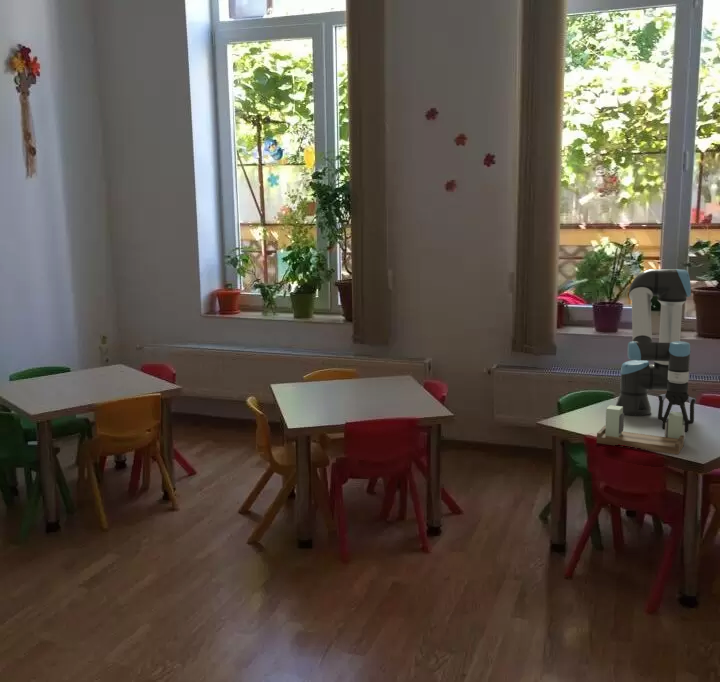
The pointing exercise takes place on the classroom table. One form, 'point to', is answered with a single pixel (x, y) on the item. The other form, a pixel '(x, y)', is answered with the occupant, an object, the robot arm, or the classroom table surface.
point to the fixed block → (614, 421)
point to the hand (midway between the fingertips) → (674, 438)
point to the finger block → (674, 425)
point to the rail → (643, 441)
